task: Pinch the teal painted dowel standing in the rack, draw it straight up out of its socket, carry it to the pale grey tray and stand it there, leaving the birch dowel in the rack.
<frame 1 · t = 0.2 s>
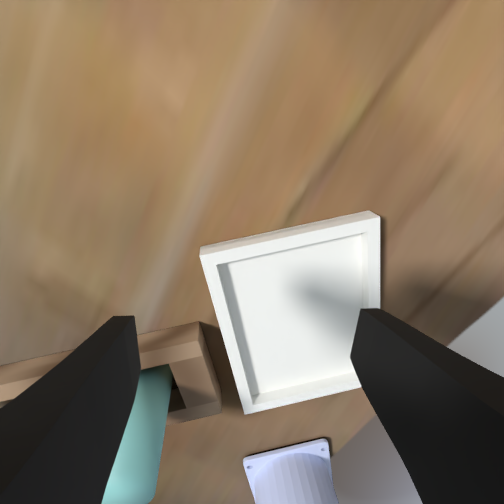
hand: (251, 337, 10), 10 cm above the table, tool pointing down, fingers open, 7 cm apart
rack: (92, 385, 22), on the table
tray: (298, 316, 22), on the table
teal dowel: (151, 371, 22), resting in rack
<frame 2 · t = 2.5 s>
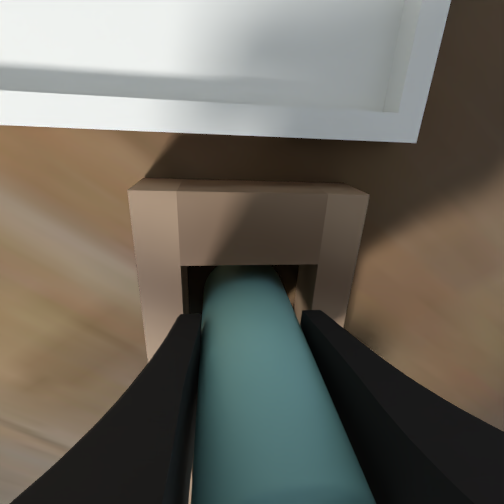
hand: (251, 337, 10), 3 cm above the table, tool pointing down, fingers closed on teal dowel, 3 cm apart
rack: (240, 376, 14), on the table
teal dowel: (243, 292, 12), resting in rack, touching gripper
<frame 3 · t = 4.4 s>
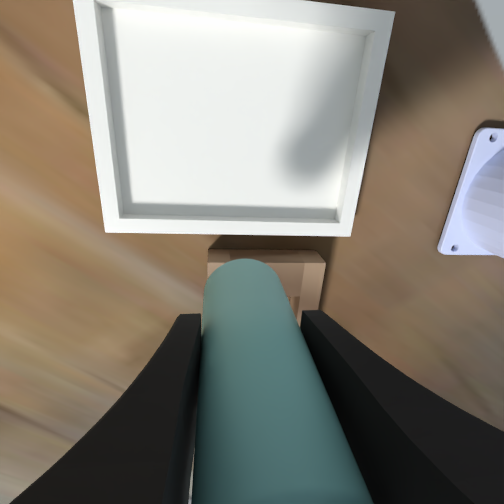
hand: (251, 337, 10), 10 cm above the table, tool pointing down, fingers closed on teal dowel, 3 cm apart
rack: (254, 358, 23), on the table
tray: (236, 130, 16), on the table
teal dowel: (243, 294, 12), point 7 cm above the table, touching gripper
when the fingers open (4 cm above the table, at t = 6.2 s): teal dowel stays where it is, resting on tray.
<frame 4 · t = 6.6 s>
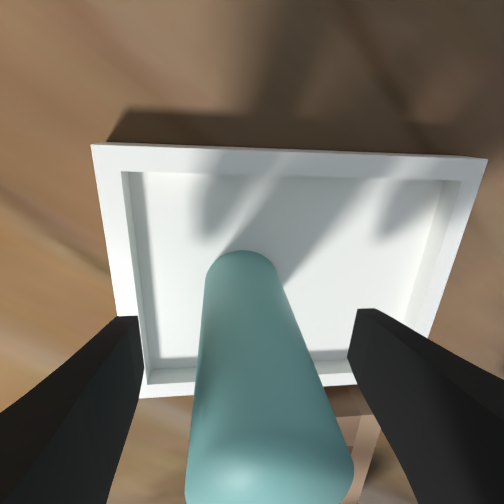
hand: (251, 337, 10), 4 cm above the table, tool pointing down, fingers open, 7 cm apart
rack: (292, 485, 20), on the table
tray: (283, 275, 14), on the table
teal dowel: (241, 284, 13), point 1 cm above the table, touching tray
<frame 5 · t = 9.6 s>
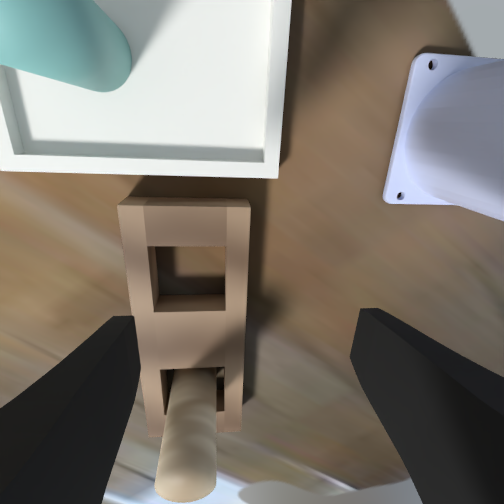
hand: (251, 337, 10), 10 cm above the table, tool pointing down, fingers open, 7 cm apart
rack: (193, 322, 21), on the table
tray: (142, 56, 15), on the table
teal dowel: (96, 54, 14), point 1 cm above the table, touching tray
birch dowel: (195, 370, 23), resting in rack
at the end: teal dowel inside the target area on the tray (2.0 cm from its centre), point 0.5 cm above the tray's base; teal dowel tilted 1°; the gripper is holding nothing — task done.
